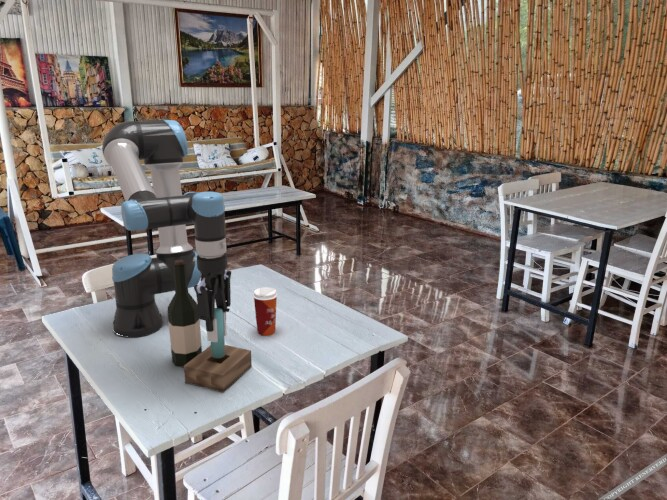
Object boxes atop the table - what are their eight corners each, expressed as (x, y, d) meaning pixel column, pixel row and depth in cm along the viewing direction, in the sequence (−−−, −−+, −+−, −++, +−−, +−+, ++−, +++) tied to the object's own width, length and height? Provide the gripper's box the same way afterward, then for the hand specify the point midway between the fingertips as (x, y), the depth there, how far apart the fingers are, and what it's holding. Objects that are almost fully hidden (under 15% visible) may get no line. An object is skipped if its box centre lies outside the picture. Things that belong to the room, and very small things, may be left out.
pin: (208, 356, 140) (205, 312, 136) (216, 350, 143) (213, 306, 139) (220, 359, 139) (217, 314, 135) (227, 353, 142) (225, 309, 138)
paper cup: (274, 338, 163) (273, 297, 159) (250, 336, 165) (249, 294, 160) (281, 327, 170) (280, 287, 166) (259, 325, 172) (257, 285, 168)
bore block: (185, 382, 139) (183, 365, 138) (215, 357, 152) (214, 342, 150) (223, 392, 135) (222, 375, 133) (251, 366, 147) (251, 350, 146)
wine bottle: (186, 370, 145) (178, 268, 136) (165, 362, 149) (156, 262, 140) (208, 357, 152) (201, 259, 142) (188, 350, 156) (180, 254, 146)
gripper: (204, 265, 124) (211, 354, 131) (241, 246, 138) (245, 327, 146) (178, 261, 127) (186, 348, 134) (217, 243, 141) (222, 322, 148)
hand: (217, 337), depth 140 cm, fingers closed on pin, 3 cm apart
